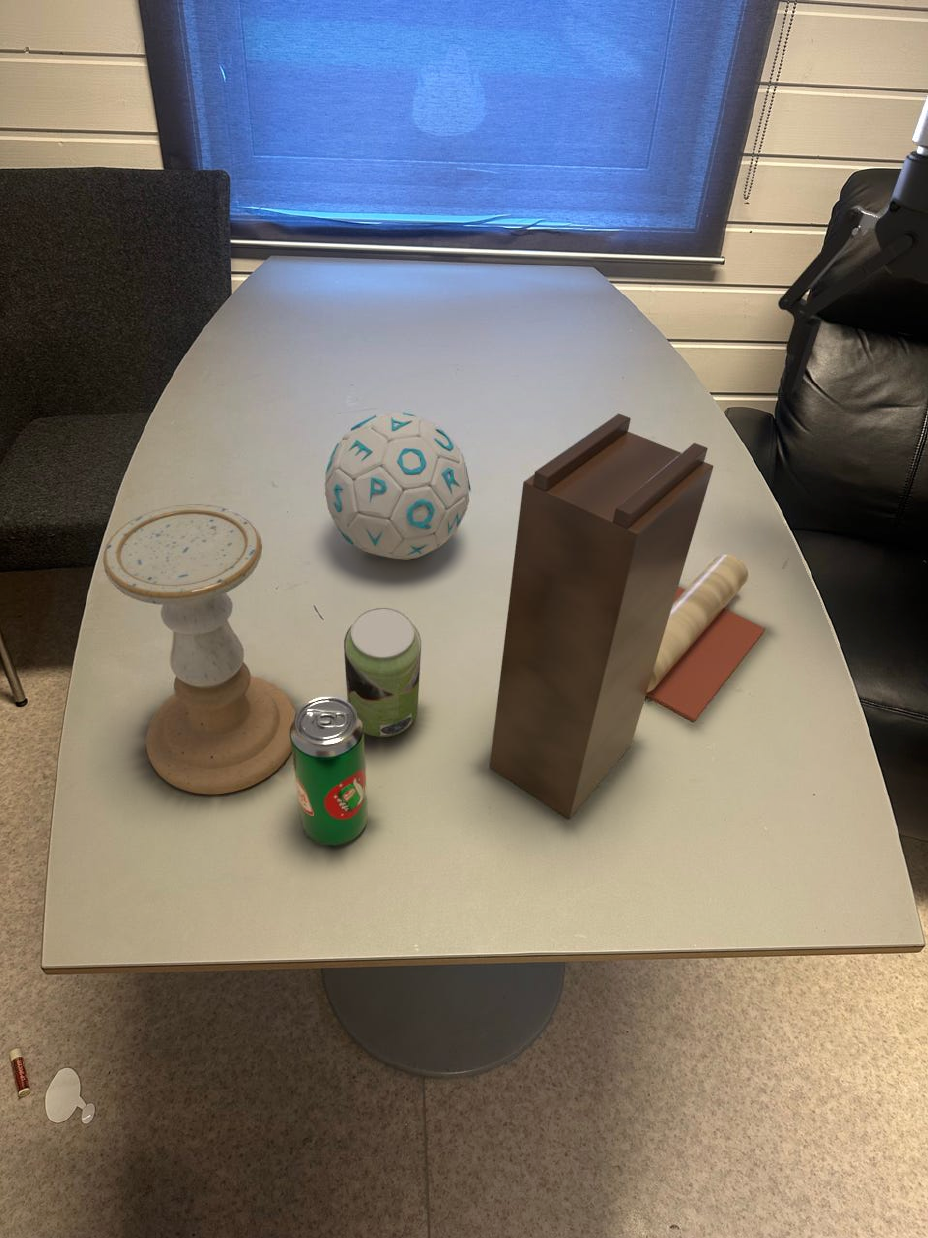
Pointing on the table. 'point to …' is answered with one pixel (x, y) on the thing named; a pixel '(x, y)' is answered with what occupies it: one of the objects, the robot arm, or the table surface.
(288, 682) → the table surface
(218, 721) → the candle holder
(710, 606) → the wooden dowel rod
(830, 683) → the table surface
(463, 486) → the puzzle ball
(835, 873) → the table surface
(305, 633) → the table surface
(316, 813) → the soda can
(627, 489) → the stand
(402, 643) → the beverage can
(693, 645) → the mat
